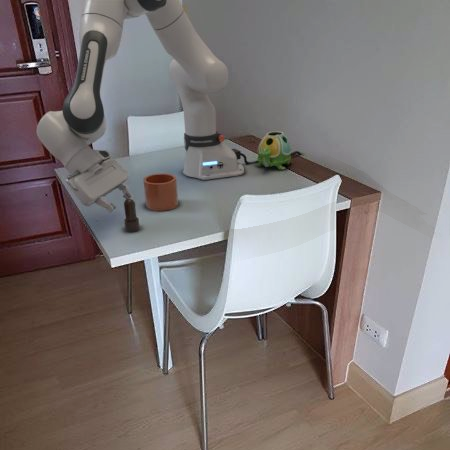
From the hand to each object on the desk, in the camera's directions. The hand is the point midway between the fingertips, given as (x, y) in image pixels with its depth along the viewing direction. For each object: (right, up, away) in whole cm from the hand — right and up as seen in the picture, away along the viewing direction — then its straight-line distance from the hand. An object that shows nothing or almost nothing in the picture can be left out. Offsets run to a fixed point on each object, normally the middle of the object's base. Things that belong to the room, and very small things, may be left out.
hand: (121, 204), depth 136 cm
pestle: (+2, -7, +3) cm, 8 cm away
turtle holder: (+47, +24, +49) cm, 72 cm away
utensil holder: (+9, +3, +18) cm, 21 cm away
